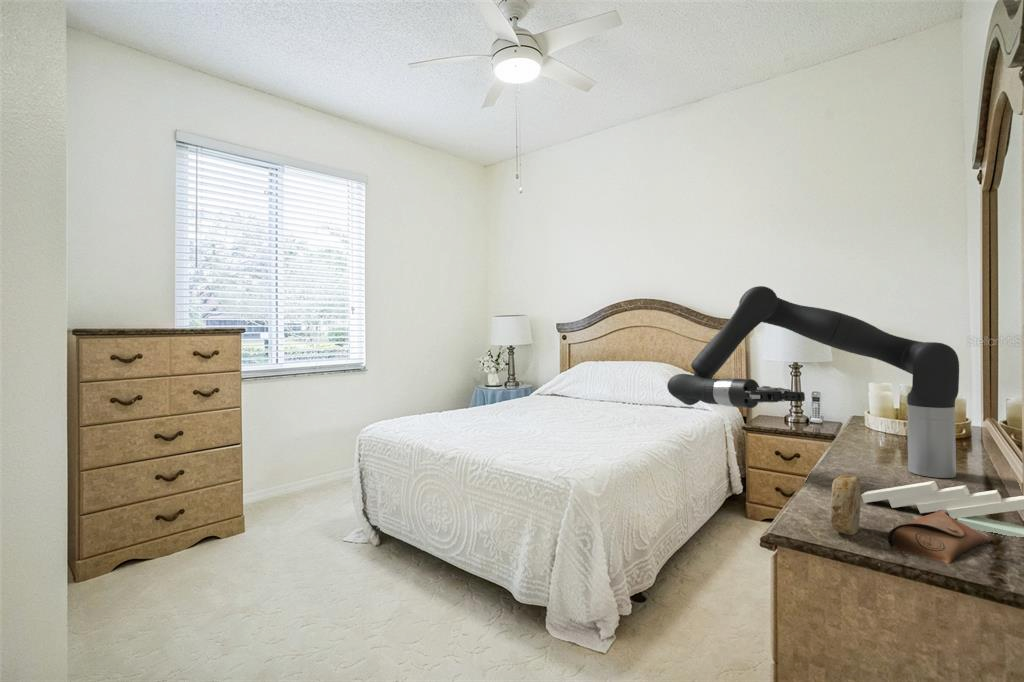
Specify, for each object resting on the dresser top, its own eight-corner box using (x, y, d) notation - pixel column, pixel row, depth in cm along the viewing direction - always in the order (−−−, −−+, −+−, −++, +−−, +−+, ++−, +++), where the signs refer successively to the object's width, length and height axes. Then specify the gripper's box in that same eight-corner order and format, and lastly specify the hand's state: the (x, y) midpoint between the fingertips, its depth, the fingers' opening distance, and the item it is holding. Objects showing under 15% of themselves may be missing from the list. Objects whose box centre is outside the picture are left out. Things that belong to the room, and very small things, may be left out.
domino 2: (888, 499, 99) (962, 488, 91) (893, 496, 103) (965, 485, 95) (891, 507, 99) (967, 497, 91) (897, 504, 102) (970, 493, 94)
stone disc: (840, 521, 93) (839, 468, 93) (864, 526, 90) (863, 471, 90) (826, 537, 85) (825, 479, 85) (852, 543, 83) (851, 483, 83)
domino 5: (956, 519, 90) (1052, 541, 80) (967, 514, 93) (1061, 534, 82) (957, 527, 90) (1052, 551, 80) (967, 522, 93) (1061, 544, 82)
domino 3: (916, 504, 96) (996, 493, 88) (920, 501, 99) (997, 489, 92) (920, 513, 95) (1001, 502, 88) (923, 509, 99) (1001, 498, 91)
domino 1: (860, 494, 103) (930, 484, 95) (867, 491, 106) (934, 480, 98) (864, 502, 102) (934, 492, 94) (870, 498, 106) (938, 488, 97)
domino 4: (946, 510, 92) (1032, 498, 85) (948, 506, 96) (1030, 494, 88) (951, 519, 92) (1038, 507, 84) (952, 515, 95) (1035, 503, 88)
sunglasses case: (952, 565, 74) (924, 519, 77) (904, 573, 79) (880, 530, 82) (995, 540, 83) (968, 500, 86) (950, 548, 89) (926, 511, 91)
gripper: (719, 380, 127) (786, 382, 112) (750, 377, 134) (817, 379, 119) (720, 409, 127) (788, 415, 112) (751, 404, 134) (818, 410, 119)
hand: (803, 397), depth 116 cm, fingers closed
